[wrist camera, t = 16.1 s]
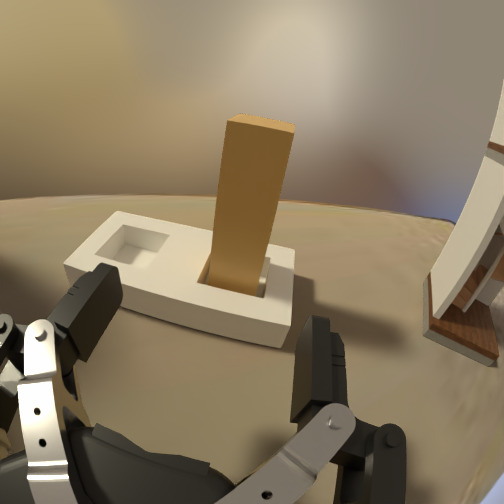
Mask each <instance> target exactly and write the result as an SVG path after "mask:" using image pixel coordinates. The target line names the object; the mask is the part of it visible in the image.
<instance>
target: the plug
mask: <svg viewBox="0 0 504 504" xmlns="http://www.w3.org/2000/svg"><path fill="white" fill-rule="evenodd" d="M294 125H295V124H291V123H287V122H282V121H278V120H273V119H268V118H263V117H257V116H252V115H246V114H238V115H236V116H235V117H233V118H231V119H229V120H227V126H226V132H225V139H224V146H223V153H222V161H221V168H220V177H219V184H218V192H217V200H216V209H215V218H214V227H213V236H212V246H211V257H210V267H209V279H208V286H212V287H216V288H220V289H224V290H229V291H233V292H237V293H241V294H246V295H250V296H256V292H257V288H258V284H259V279H260V275H261V271H262V267H263V263H264V259H265V255H266V251H267V247H268V243H269V239H270V235H271V231H272V226H273V222H274V218H275V214H276V210H277V205H278V201H279V197H280V193H281V188H282V184H283V180H284V176H285V171H286V167H287V163H288V158H289V154H290V150H291V145H292V141H293V136H294Z"/></svg>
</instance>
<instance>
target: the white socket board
mask: <svg viewBox="0 0 504 504" xmlns="http://www.w3.org/2000/svg"><path fill="white" fill-rule="evenodd" d="M212 236H213V231H209V230H204V229H200V228H195V227H191V226H186V225H181V224H177V223H172V222H167V221H163V220H158V219H153V218H149V217H144V216H139V215H134V214H129V213H125V212H120V211H116V212H115V213H114V214H113V215H112V216H111V217H110V218H108V219H107V220H106V221H105V222H104V223H103V224H102V225H101V226H100V227H99V228H98V229H97V230H96V231H95V232H94V233H93V234H91V235H90V236H89V237H88V238H87V239H86V240H85V241H84V242H83V243H82V244H81V245H80V246H79V247H78V248H77V249H76V250H75V251H74V252H73V254H72V255H71V256H70V257H69V258H68V259H67V260H66V261H65V262H64V263H63V265H64V268H65V271H66V274H67V278H68V281H69V284H70V286H71V287H73V284H74V283H75V282H76V281H77V280H78V278H79V277H80V276H82V275H84V274H85V273H87V272H88V271H91V272H92V271H93V270H94V269H95V268H96V267H97V265H98V264H99V263H106V264H109V265H112V266H116V267H117V268H118V270H119V275H120V280H121V285H122V290H123V299H122V303H121V305H120V306H121V307H124V308H127V309H130V310H133V311H136V312H139V313H143V314H146V315H149V316H152V317H155V318H159V319H162V320H165V321H169V322H172V323H176V324H179V325H183V326H186V327H190V328H194V329H197V330H201V331H205V332H209V333H213V334H217V335H221V336H225V337H229V338H233V339H238V340H242V341H247V342H251V343H256V344H261V345H266V346H271V347H276V348H281V347H282V345H283V342H284V340H285V338H286V336H287V333H288V331H289V329H290V326H291V313H292V297H293V277H294V254H295V250H294V249H290V248H285V247H281V246H276V245H272V244H268V247H267V251H266V255H265V259H264V263H263V267H262V271H261V275H260V279H259V284H258V288H257V292H256V296H250V295H246V294H241V293H237V292H233V291H229V290H224V289H220V288H216V287H212V286H208V279H209V267H210V257H211V246H212Z"/></svg>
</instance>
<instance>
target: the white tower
mask: <svg viewBox="0 0 504 504" xmlns="http://www.w3.org/2000/svg"><path fill="white" fill-rule="evenodd" d="M423 286H424V320H423V336H424V337H427V338H429V339H431V340H433V341H435V342H437V343H439V344H441V345H444V346H446V347H448V348H450V349H452V350H454V351H456V352H458V353H460V354H463V355H465V356H467V357H469V358H471V359H473V360H475V361H478V362H480V363H482V364H484V365H486V366H488V367H489V366H490V365H491V364H492V363H493V362H494V361H495V360H496V359H497V358H498V357H499V351H498V346H497V340H496V335H495V330H494V326H493V322H492V317H491V313H490V309H489V305H490V304H491V303H492V301H493V300H494V299H495V297H496V296H497V294H498V293H499V291H500V290H501V289H502V287H503V286H504V82H503V87H502V92H501V97H500V102H499V107H498V111H497V115H496V119H495V123H494V127H493V130H492V134H491V137H490V140H489V144H488V147H487V150H486V153H485V156H484V159H483V162H482V164H481V168H480V170H479V173H478V175H477V178H476V180H475V183H474V186H473V188H472V190H471V193H470V195H469V197H468V200H467V202H466V204H465V206H464V209H463V211H462V213H461V215H460V217H459V219H458V221H457V223H456V225H455V227H454V229H453V231H452V233H451V235H450V237H449V239H448V241H447V243H446V245H445V247H444V249H443V250H442V252H441V254H440V256H439V257H438V259H437V261H436V263H435V264H434V266H433V268H432V270H431V271H430V273H429V274H428V276H427V278H426V279H425V281H424V283H423Z"/></svg>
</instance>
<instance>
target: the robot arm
mask: <svg viewBox="0 0 504 504" xmlns="http://www.w3.org/2000/svg"><path fill="white" fill-rule="evenodd" d="M122 299H123V290H122V285H121V280H120V275H119V270H118V268H117V267H116V266H112V265H109V264H106V263H99V264H98V265H97V267H96V268H95V269H94V270H93V271H92V272H91V271H88V272H87V273H85V274H84V275H82V276H80V277H79V278H78V280H77V281H76V282H75V283H74V284H73V287H71V288H70V289H69V291H68V292H67V294H65V296H64V297H63V298H62V299H61V301H60V302H59V303H58V305H57V306H56V307H55V309H54V310H53V311H52V313H51V314H50V315H49V317H48V318H47V319H46V320H43V319H41V320H37V321H34V322H33V323H31V324H30V325H29V326H27V325H20V324H15V323H14V321H13V319H12V318H11V316H9V315H8V314H0V366H1V364H2V362H3V360H4V358H5V357H7V358H8V362H7V364H6V366H5V368H4V369H3V371H2V373H1V375H0V504H293V503H294V502H295V501H297V500H298V499H299V498H300V497H301V496H302V495H303V494H304V493H305V492H306V491H307V490H308V489H309V488H310V487H311V486H312V484H313V483H314V482H315V480H316V478H317V477H316V476H317V474H318V473H319V472H320V471H321V470H322V469H323V467H324V466H325V465H326V464H327V463H328V462H331V463H334V464H337V465H338V472H337V480H336V488H335V495H334V501H333V504H405V492H406V437H405V434H404V432H403V430H402V429H401V428H400V427H399V426H397V425H395V424H384V425H382V426H381V427H377V426H374V425H371V424H368V423H366V422H363V421H361V420H359V419H357V418H356V417H355V416H354V414H353V412H352V411H351V410H350V409H349V406H348V401H347V380H346V368H345V366H346V364H345V351H344V344H343V342H342V340H341V338H340V336H339V334H338V333H333V332H330V321H329V318H325V317H319V316H314V315H310V316H309V317H308V319H307V321H306V323H305V326H304V328H303V330H302V332H301V334H300V336H299V338H298V341H297V345H296V350H295V365H294V379H293V392H292V404H291V415H290V423H298V427H297V432H296V433H295V434H294V435H293V436H292V437H291V438H290V439H289V440H288V441H287V442H286V443H285V444H284V445H283V446H282V447H280V448H279V449H278V450H277V451H276V452H275V453H274V454H273V455H272V456H270V457H269V458H268V459H267V460H266V461H265V462H263V463H262V464H261V465H260V466H258V467H257V468H256V469H255V470H253V471H252V472H251V473H250V474H248V475H247V476H246V477H245V478H243V479H242V480H241V481H239V482H238V483H237V484H235V485H234V484H233V483H232V482H231V481H230V480H229V479H228V478H227V477H226V476H224V475H223V474H222V473H220V472H219V471H217V470H215V469H213V468H211V467H209V465H210V463H208V462H204V461H200V460H196V459H192V458H188V457H185V456H181V455H171V454H160V453H150V452H147V451H145V450H143V449H142V448H140V447H139V446H137V445H136V444H134V443H133V442H131V441H130V440H129V439H127V438H126V437H124V436H123V435H122V434H119V433H117V432H115V431H113V430H110V429H108V428H106V427H104V426H102V425H100V424H98V423H96V425H95V427H91V424H90V421H89V418H88V415H87V413H86V411H85V409H84V407H83V404H82V400H81V395H80V389H79V384H78V378H77V371H76V366H75V362H76V361H77V359H79V360H82V361H84V362H87V360H88V358H89V357H90V355H91V353H92V351H93V350H94V348H95V346H96V344H97V343H98V341H99V339H100V338H101V336H102V334H103V333H104V331H105V329H106V328H107V326H108V324H109V323H110V321H111V320H112V318H113V316H114V315H115V313H116V311H117V310H118V308H119V307H120V305H121V303H122ZM18 406H19V407H20V417H21V425H22V432H23V438H24V444H25V450H23V451H21V452H18V453H16V454H13V455H11V456H9V457H8V456H7V451H9V450H10V449H11V443H10V441H9V440H8V437H7V432H8V430H9V427H10V425H11V422H12V420H13V417H14V415H15V413H16V410H17V408H18Z"/></svg>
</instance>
